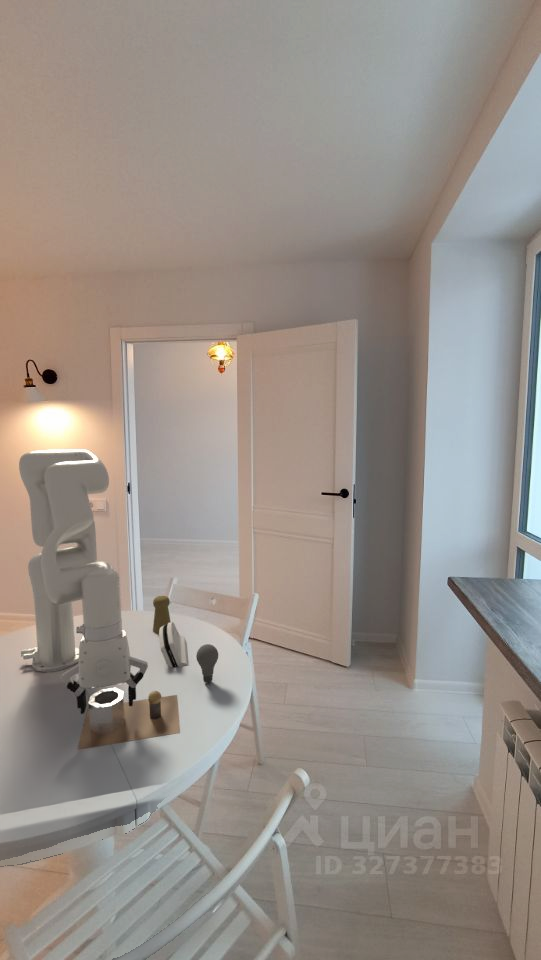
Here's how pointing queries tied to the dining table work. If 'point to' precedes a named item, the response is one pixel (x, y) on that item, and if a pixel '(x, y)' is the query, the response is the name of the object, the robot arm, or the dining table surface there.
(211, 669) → the light bulb
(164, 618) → the cork
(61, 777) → the dining table surface
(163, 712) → the keeper base
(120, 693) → the white hollow octagonal cylinder
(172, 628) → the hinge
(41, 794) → the dining table surface
